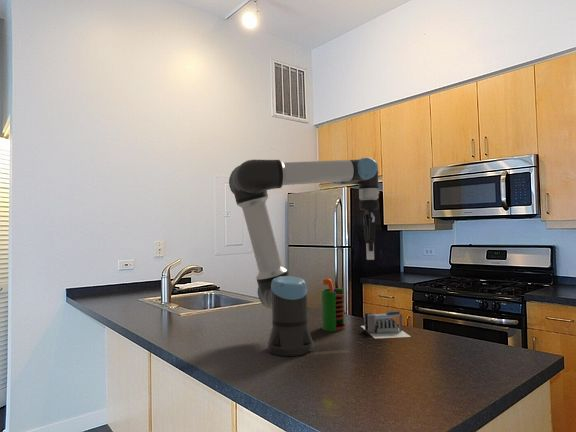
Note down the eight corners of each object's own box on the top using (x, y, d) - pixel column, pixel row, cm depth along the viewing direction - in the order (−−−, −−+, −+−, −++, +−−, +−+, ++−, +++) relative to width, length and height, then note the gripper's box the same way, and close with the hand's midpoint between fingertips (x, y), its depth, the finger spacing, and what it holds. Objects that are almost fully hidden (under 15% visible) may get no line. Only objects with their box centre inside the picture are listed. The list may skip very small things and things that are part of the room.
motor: (344, 334, 153) (342, 280, 154) (320, 333, 155) (319, 280, 156) (346, 328, 163) (344, 277, 164) (323, 327, 165) (322, 277, 165)
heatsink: (398, 333, 149) (398, 320, 149) (377, 334, 148) (376, 321, 148) (391, 328, 157) (390, 316, 157) (370, 328, 156) (370, 317, 156)
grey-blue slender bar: (399, 317, 152) (399, 311, 152) (368, 319, 151) (368, 313, 151) (396, 315, 155) (396, 310, 155) (366, 317, 154) (366, 312, 154)
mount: (404, 331, 151) (403, 314, 151) (368, 333, 149) (368, 315, 150) (399, 328, 156) (398, 311, 156) (364, 330, 155) (364, 312, 155)
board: (411, 339, 144) (411, 336, 144) (375, 341, 142) (375, 338, 142) (392, 326, 163) (392, 324, 163) (360, 328, 161) (360, 325, 161)
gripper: (382, 198, 156) (384, 260, 155) (374, 200, 169) (375, 258, 168) (363, 198, 156) (364, 260, 155) (356, 201, 169) (357, 258, 168)
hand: (370, 259), depth 161 cm, fingers closed
